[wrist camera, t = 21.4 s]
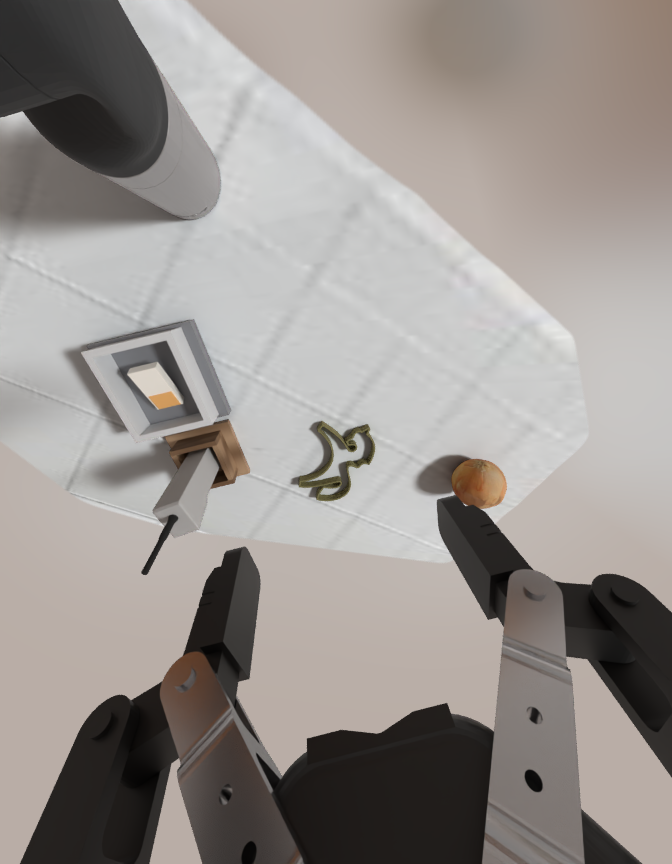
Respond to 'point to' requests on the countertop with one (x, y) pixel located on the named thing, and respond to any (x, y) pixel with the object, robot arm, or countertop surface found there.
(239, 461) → the stand
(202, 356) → the box
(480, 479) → the onion
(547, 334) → the countertop surface
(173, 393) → the plate
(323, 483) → the cookie cutter
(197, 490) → the vintage mobile phone
